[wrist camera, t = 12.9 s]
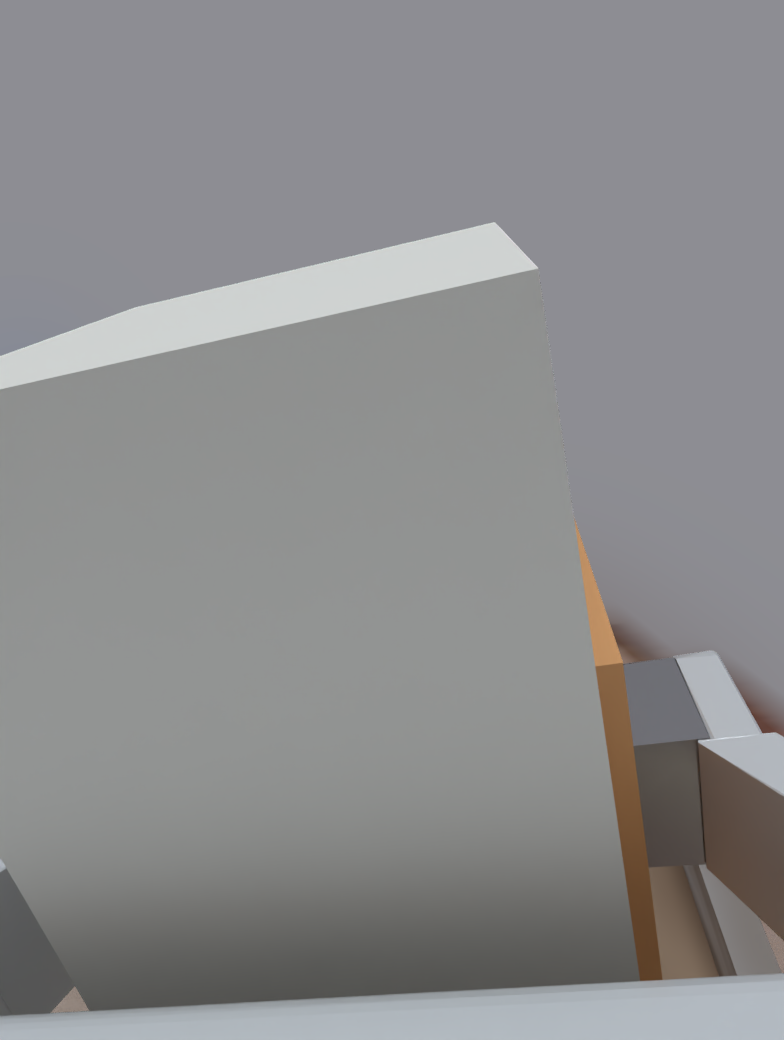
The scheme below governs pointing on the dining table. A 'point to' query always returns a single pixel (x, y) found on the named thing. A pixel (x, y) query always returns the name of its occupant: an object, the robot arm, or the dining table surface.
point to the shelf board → (705, 927)
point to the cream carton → (312, 646)
